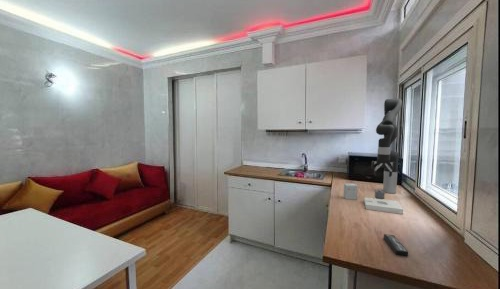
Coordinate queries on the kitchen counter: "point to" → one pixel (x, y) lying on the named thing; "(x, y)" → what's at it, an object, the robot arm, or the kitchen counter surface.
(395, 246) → the multiport hub
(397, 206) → the socket plate
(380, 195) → the plug
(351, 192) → the small box
